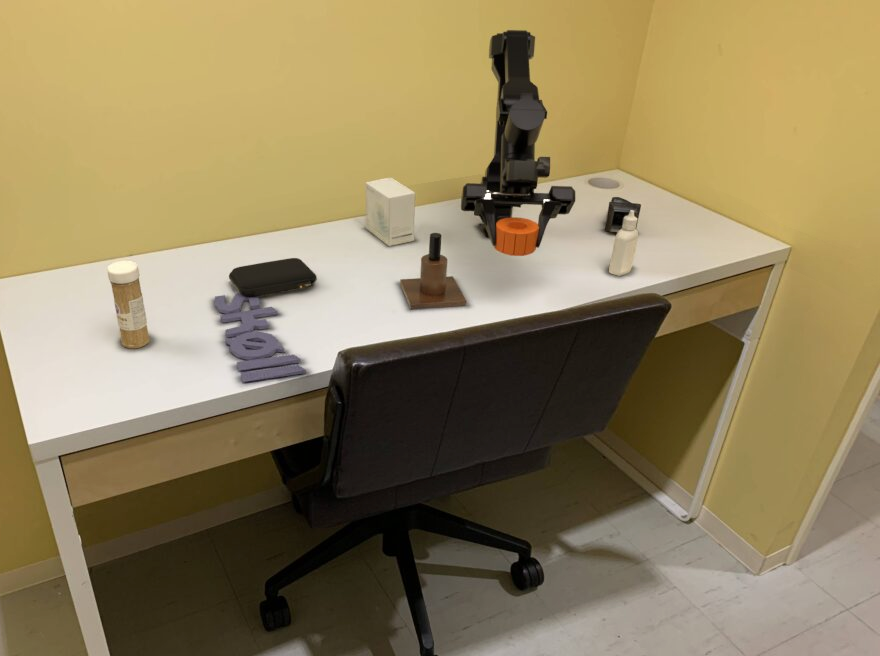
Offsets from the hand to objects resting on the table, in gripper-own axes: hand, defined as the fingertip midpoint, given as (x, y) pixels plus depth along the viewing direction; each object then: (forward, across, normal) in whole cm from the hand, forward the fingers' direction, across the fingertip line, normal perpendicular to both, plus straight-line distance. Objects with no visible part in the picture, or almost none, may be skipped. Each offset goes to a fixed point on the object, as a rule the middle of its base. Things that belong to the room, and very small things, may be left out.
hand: (515, 246), depth 129 cm
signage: (+18, -43, -2) cm, 46 cm away
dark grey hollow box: (-19, +26, +35) cm, 48 cm away
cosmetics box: (-12, -23, +28) cm, 39 cm away
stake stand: (+6, -14, +9) cm, 18 cm away
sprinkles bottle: (+21, -61, -5) cm, 65 cm away
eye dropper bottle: (-3, +22, +19) cm, 30 cm away
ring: (0, 0, +2) cm, 2 cm away
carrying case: (+6, -42, +10) cm, 44 cm away
